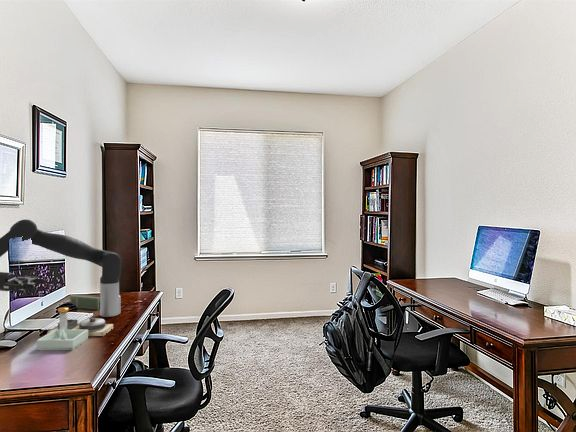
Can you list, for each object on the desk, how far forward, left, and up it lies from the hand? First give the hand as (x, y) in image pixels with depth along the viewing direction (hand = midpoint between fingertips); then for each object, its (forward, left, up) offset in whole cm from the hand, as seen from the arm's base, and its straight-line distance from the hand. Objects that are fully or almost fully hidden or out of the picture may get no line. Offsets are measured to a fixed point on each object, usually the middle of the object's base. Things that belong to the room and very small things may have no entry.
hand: (39, 284), depth 169 cm
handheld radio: (-45, -37, -25) cm, 64 cm away
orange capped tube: (-5, +9, -24) cm, 26 cm away
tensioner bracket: (-18, 0, -25) cm, 31 cm away
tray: (-5, +9, -25) cm, 27 cm away
